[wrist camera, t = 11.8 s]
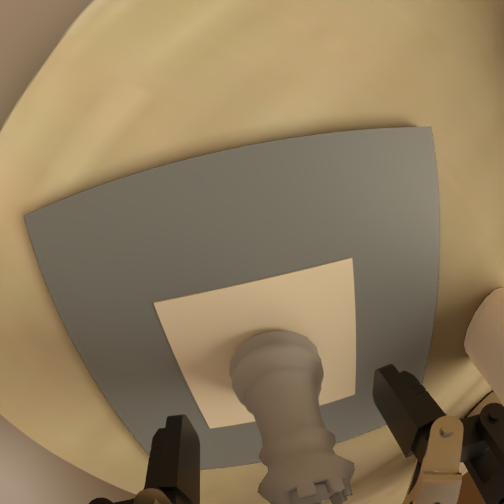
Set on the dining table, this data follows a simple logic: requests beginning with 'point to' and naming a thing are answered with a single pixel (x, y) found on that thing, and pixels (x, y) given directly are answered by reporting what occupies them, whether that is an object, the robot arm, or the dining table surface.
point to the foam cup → (488, 341)
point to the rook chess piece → (290, 419)
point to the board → (250, 277)
